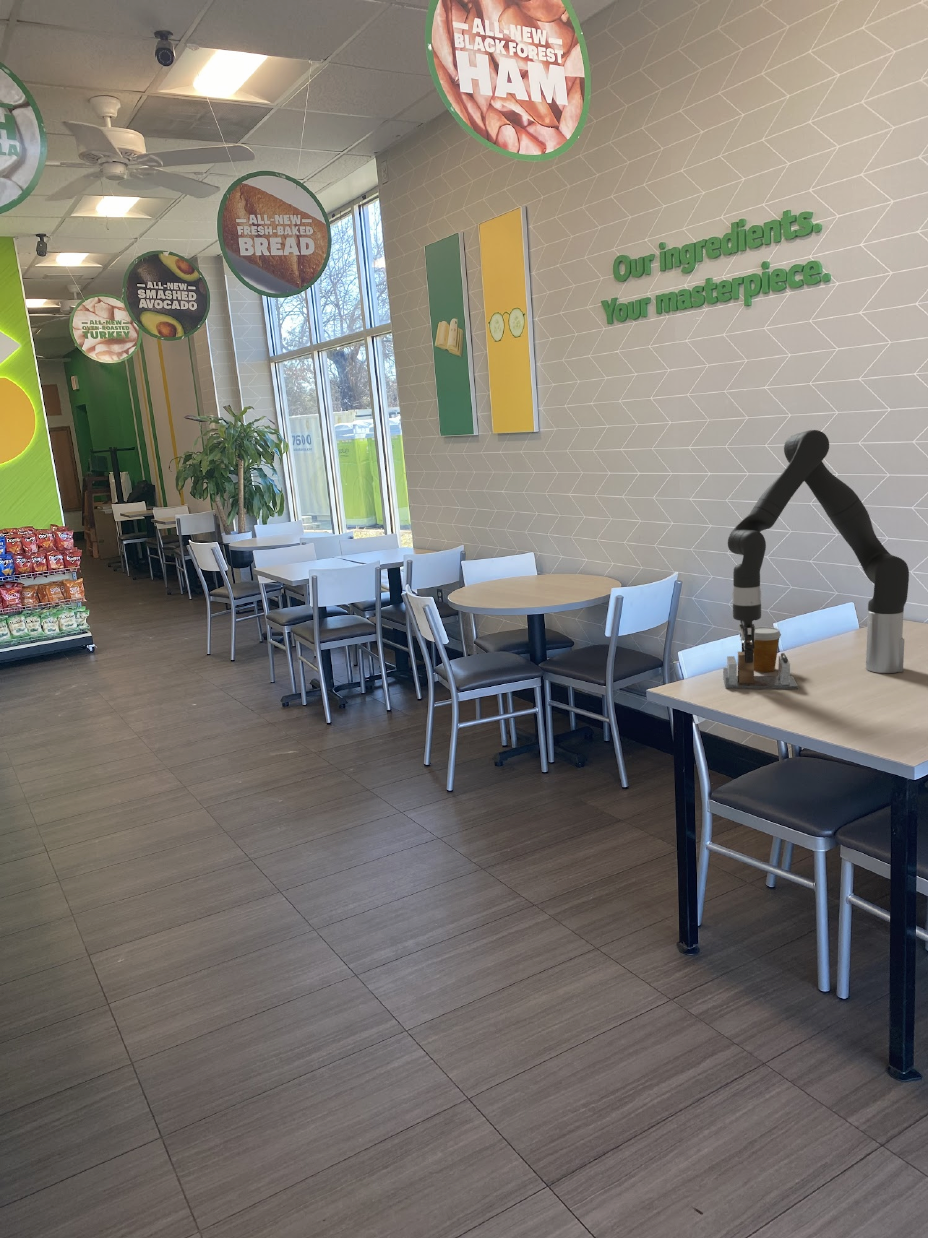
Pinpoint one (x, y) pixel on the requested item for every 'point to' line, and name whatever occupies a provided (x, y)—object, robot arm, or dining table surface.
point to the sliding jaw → (784, 670)
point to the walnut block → (745, 669)
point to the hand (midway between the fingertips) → (747, 658)
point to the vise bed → (759, 681)
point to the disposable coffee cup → (765, 648)
